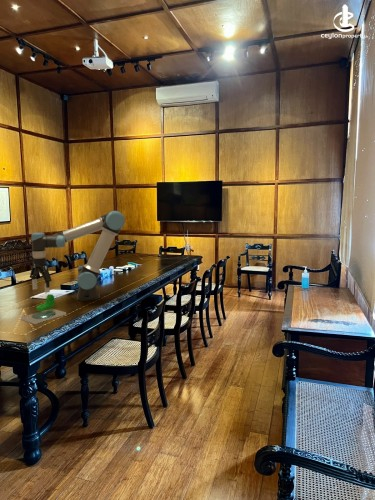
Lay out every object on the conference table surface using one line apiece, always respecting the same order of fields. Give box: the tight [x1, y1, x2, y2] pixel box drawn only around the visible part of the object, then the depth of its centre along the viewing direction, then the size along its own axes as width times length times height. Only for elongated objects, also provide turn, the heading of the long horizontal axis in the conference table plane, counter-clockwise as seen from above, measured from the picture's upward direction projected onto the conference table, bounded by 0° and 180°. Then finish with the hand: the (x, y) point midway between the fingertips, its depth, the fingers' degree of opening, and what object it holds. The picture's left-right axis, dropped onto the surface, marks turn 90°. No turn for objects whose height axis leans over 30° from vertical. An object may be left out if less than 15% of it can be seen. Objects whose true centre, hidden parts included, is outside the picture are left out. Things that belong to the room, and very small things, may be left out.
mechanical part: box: [36, 294, 56, 312], centre depth 221 cm, size 12×6×8 cm, turn 167°
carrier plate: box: [20, 308, 67, 325], centre depth 204 cm, size 20×14×1 cm
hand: (41, 290), depth 220 cm, fingers open, 13 cm apart
